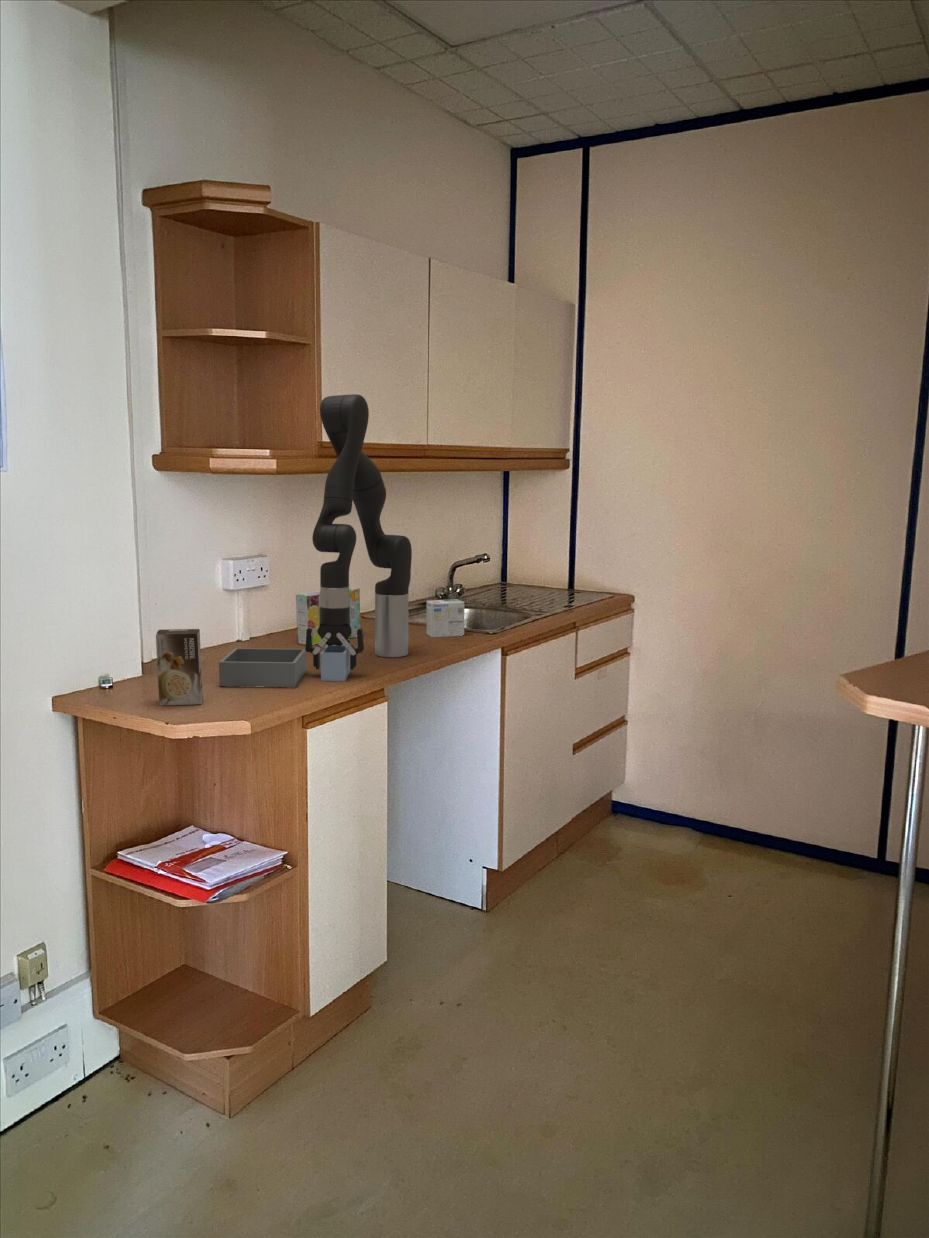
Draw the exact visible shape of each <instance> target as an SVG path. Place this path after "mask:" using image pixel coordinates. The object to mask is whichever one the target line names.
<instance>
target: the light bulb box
mask: <svg viewBox="0 0 929 1238" xmlns="http://www.w3.org/2000/svg"><path fill="white" fill-rule="evenodd" d="M425 604H426V635H427V636H429V637H431V638H432V639H433V638H448V637H464V636H465V601H463V600H461V599H457V598H455V599H438V600H436V599H435V600H426V603H425ZM463 635H464V636H463Z"/></svg>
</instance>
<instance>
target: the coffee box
mask: <svg viewBox="0 0 929 1238" xmlns="http://www.w3.org/2000/svg"><path fill="white" fill-rule="evenodd" d="M155 644H156V646H155V647H156V649H155V650H156V662H157V663H156V665H157V667H156V669H157V685H158V686H157V687H158V688H157V689H158V705H159V706H160V707H161V706H163V707H164V706H184V705H185V706H188V705H192V706H193V705H202V702H203V700H204V696H203V695H204V694H203V677H202V675H203V673H202V655H201V654H202V653H201V633H200V628H183V629H182V628H177V629H176V628H175V629H173V628H172V629H171V628H170V629H167V628H166V629H158V630H157V632H156V635H155Z"/></svg>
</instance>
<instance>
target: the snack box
mask: <svg viewBox="0 0 929 1238" xmlns="http://www.w3.org/2000/svg"><path fill="white" fill-rule="evenodd" d="M360 591H361V589H360V588H359V587H355V586H354V587H353V586H349V592H350V627H351V629H358V628H362V627H361V593H360ZM319 595H320V590H316V591H310V592H304V593H295V612H296V613H295V614H296V615H295V616H296V617H295V618H296V642H297V643H300V644H299V645H301V644H303V645H302V646H306V631H307V629H308V628H309V627H312V628H319ZM352 638H356V637H355V636H354V634H353V633H351V635H350V636H349V638H348V639H352ZM321 640H322V638H321V637H320V636H319V634H318V633H316V634H315V636H314V637H312V646H316V645H315V644H317V645H318V644H319V643H320V641H321Z"/></svg>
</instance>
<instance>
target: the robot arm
mask: <svg viewBox="0 0 929 1238" xmlns="http://www.w3.org/2000/svg"><path fill="white" fill-rule="evenodd" d="M319 405H320V406H319V414H320V419H321V423H322V425H323V428H324V432H325V433H326V436H327V437H328V440H329V442H330V443H331V446H332V448H333V450H334V453H335V455H336V457H337V458H336V460H335V461H334V463H333V465H332V466H331V467H330V469H329V471H328V474H327V476H326V480H325V484H324V495H323V504H322V507H321V510H320V512H319V513H320V514H319V516H318V519H317V521H316V524H315V526H314V528H313V532H312V544H313V547H314V548H315V549H316V550H317V551H318V552H321V553H338V557H337V558H336V560H333V561H327V562H324V563H322V564H321V565H320V568H319V569H320V570H319V572H320V573H319V574H320V576H319V578H320V579H319V580H320V583H319V584H320V588H319V591H320V595H319V628H312V627H309V628H308V629H307V631H306V645H305V648H304V649H305V650H306V653H311V654H312V656H313V657H312V660H313V661H312V662H313V664H312V665H313V667H314V668H315V670H319V669H321V652H320V651H321V649H323V647H324V645H328V646H332V645H337V646H341V645H344V646H345V647H346V648H347V649H348V651H349V652H350V671H353V670H354V669H355V668H356V667H357V663H358V662H357V658H358V657H357V655H358V654H361V653H363V652H364V651H365V646H364V645H365V643H364V629H363V627H361V628H358V629H351V627H350V592H349V587H350V568H351V561H352V558H353V554H354V551H355V547H356V543H357V533H356V529H355V528H354V527H353V526H352V525H351V524H347V523H346V524H345V523H334V521H335V520H336V519H337V518H340V517H344V516H347V515H350V514H351V513H352V510H353V509H352V508H353V505H354V507H355V510H356V513H357V516H358V519H359V523H360V526H361V529H362V534H363V539H364V542H365V543H364V544H365V547H366V551H367V554H368V557H369V560H370V562H371V564H372V565H373V566H375V567H376V568H381V569H390V575H389V577H387V578H386V579H383V580H380V581H377V582H376V583H375V585H374V655H375V656H378V657H381V658H401V657H406V656H408V655H409V588H410V583H411V579H412V578H411V576H412V575H411V574H412V557H413V555H412V553H413V552H412V543H411V541H410V539H409V538H408V537H407V536H406V535H397V534H396V535H395V534H386V533H385V532H384V531H383V528H382V524H381V519H380V518H381V515H382V511H383V509H384V506H385V503H386V499H387V489H386V486H385V483H384V480H383V477H382V474H381V471H380V469H379V467H378V466H377V465H376V464H375V463H374V461H372V459H370V457H368V456H367V455H366V454H365V453H364V452H363V445H364V442H365V441H364V440H365V438H366V434H367V430H368V423H369V416H370V415H369V412H370V411H369V410H370V409H369V405H368V402H367V401H366V398H365V397H364V396H363V395H360V394H357V393H356V394H353V393H352V394H339V395H330V396H329V395H328V396H325V397H324V398H323V399H322V400H321V403H320V404H319ZM316 633H318V634H319V636H320V637H321V638H322V640H321V641H320V643H319V644H317V646H315V647H314V646H313V645H312V637H314V636H315V634H316ZM351 633H353V634H354V636H355V637H354V638H356V639H357V647H355V646H354V644H353V643H352V641H351V640H350V638H349V636H350V635H351Z"/></svg>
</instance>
